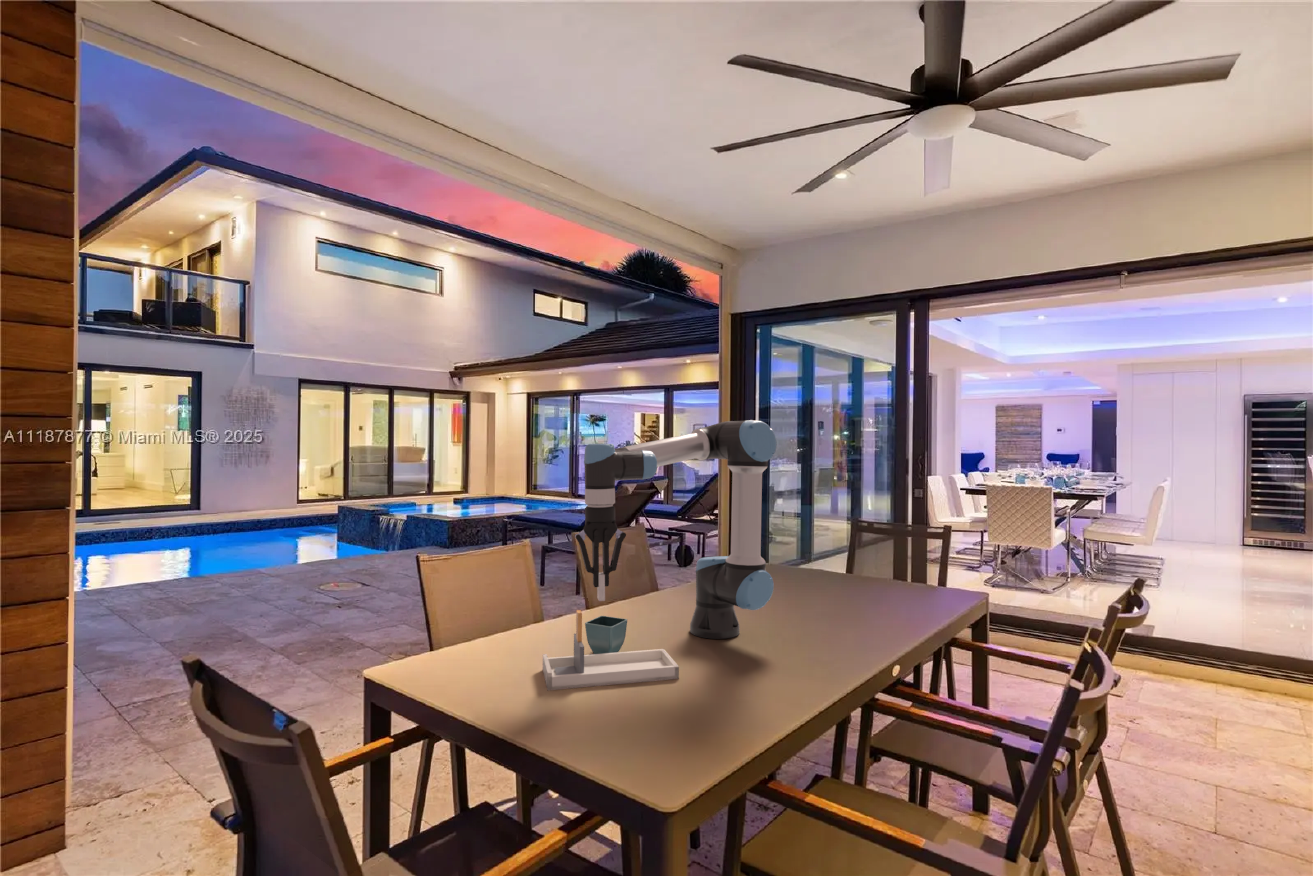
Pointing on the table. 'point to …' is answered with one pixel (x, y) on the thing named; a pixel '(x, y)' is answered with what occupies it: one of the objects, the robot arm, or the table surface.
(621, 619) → the flower pot
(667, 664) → the white tray
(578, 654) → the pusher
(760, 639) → the table surface
